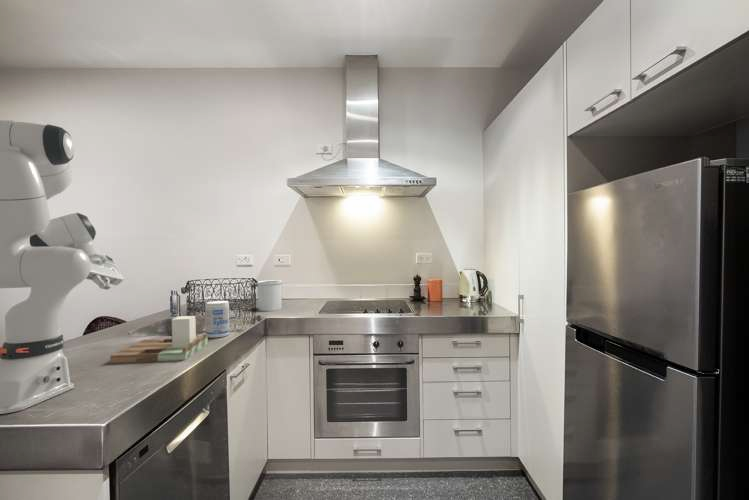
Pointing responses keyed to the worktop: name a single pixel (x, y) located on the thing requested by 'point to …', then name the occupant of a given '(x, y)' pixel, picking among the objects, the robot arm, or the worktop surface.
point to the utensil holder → (269, 295)
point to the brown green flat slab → (158, 351)
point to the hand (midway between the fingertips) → (106, 288)
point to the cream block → (183, 331)
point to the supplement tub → (217, 318)
